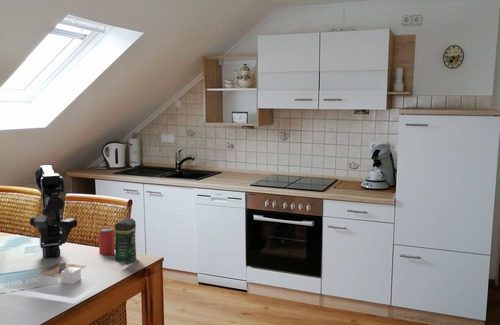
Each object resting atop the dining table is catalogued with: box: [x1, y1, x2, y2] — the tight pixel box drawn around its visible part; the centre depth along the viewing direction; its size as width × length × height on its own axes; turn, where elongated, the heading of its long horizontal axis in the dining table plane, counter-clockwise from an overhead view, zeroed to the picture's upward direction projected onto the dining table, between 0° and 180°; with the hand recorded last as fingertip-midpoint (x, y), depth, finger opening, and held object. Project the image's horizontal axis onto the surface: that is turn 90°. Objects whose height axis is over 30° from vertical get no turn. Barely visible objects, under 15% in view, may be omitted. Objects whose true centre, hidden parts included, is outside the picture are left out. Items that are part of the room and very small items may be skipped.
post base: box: [38, 261, 87, 278], centre depth 183 cm, size 13×13×4 cm
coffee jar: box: [114, 217, 137, 265], centre depth 196 cm, size 10×8×19 cm
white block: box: [60, 267, 82, 285], centre depth 172 cm, size 5×5×6 cm
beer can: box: [98, 227, 116, 257], centre depth 204 cm, size 7×7×12 cm
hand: (54, 242), depth 184 cm, fingers open, 9 cm apart
